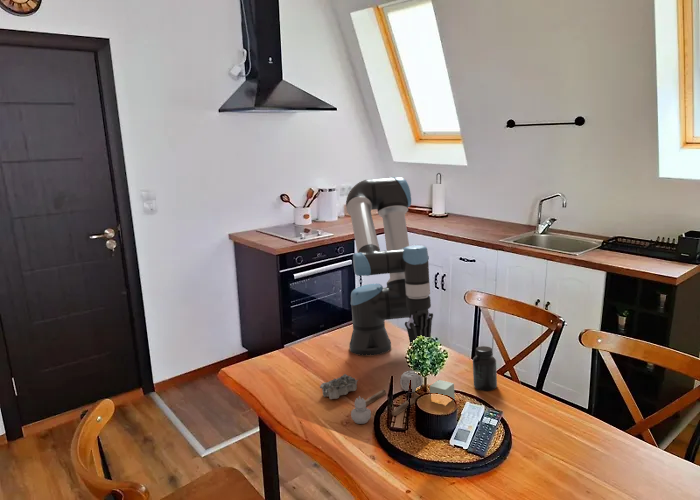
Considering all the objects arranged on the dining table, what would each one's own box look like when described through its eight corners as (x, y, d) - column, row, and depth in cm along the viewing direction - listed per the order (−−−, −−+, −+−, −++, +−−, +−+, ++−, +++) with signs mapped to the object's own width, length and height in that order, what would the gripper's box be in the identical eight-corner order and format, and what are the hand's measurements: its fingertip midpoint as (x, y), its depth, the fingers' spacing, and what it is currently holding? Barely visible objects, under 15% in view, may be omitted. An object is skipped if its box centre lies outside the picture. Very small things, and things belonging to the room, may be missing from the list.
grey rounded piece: (350, 427, 133) (348, 399, 131) (352, 415, 139) (350, 388, 138) (371, 427, 132) (368, 398, 131) (372, 415, 138) (370, 388, 137)
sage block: (439, 395, 147) (438, 379, 147) (454, 399, 144) (453, 383, 143) (430, 402, 144) (429, 385, 143) (445, 406, 140) (445, 389, 140)
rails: (383, 393, 152) (382, 389, 152) (415, 402, 144) (414, 398, 144) (362, 405, 145) (362, 401, 144) (394, 416, 137) (394, 412, 137)
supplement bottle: (488, 380, 155) (487, 343, 154) (501, 388, 149) (500, 350, 147) (469, 384, 153) (467, 347, 152) (481, 393, 147) (480, 354, 145)
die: (410, 384, 157) (409, 369, 156) (423, 388, 153) (422, 372, 153) (400, 390, 153) (399, 374, 153) (413, 394, 150) (412, 378, 149)
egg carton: (332, 401, 147) (330, 388, 147) (319, 395, 154) (317, 382, 153) (361, 389, 153) (359, 376, 153) (347, 383, 159) (345, 371, 159)
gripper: (419, 290, 161) (423, 359, 164) (395, 299, 151) (400, 373, 155) (439, 292, 156) (443, 364, 160) (416, 302, 147) (421, 378, 150)
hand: (422, 368), depth 157 cm, fingers closed
